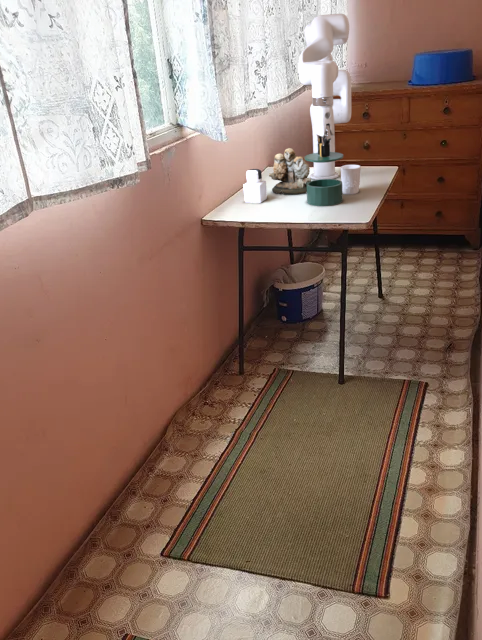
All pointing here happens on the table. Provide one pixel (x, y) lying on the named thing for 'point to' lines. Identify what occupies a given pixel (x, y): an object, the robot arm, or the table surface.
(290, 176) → the owl figurine
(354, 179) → the white cup
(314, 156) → the lid
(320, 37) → the robot arm
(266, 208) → the table surface
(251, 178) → the medicine bottle
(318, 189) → the tin
